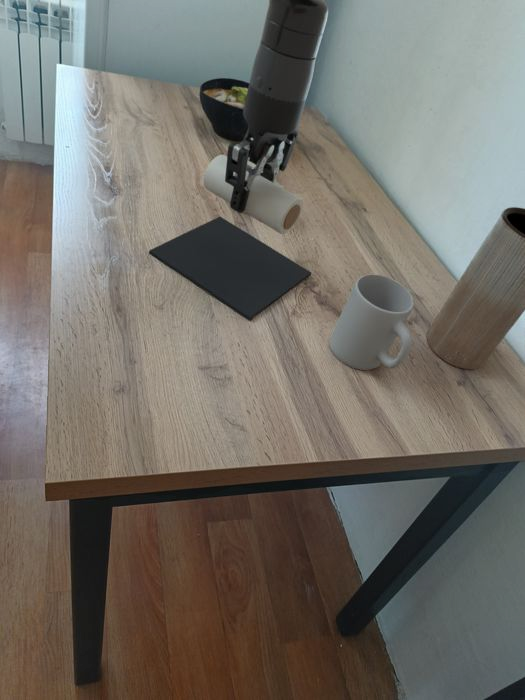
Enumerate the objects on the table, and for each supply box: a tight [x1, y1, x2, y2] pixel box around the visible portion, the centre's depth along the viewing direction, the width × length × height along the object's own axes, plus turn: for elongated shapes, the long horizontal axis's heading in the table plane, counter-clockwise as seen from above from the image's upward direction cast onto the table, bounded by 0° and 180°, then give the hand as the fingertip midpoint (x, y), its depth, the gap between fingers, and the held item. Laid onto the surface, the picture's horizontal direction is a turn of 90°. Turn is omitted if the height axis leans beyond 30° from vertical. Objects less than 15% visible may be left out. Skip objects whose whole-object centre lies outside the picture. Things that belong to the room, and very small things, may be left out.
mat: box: [148, 216, 312, 321], centre depth 87 cm, size 20×18×1 cm
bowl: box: [199, 77, 250, 142], centre depth 121 cm, size 17×17×10 cm
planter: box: [426, 206, 525, 370], centre depth 79 cm, size 10×10×23 cm
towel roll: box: [203, 154, 304, 235], centre depth 78 cm, size 6×14×6 cm, turn 55°
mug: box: [328, 273, 415, 371], centre depth 75 cm, size 12×8×11 cm
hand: (249, 203), depth 80 cm, fingers closed on towel roll, 5 cm apart
